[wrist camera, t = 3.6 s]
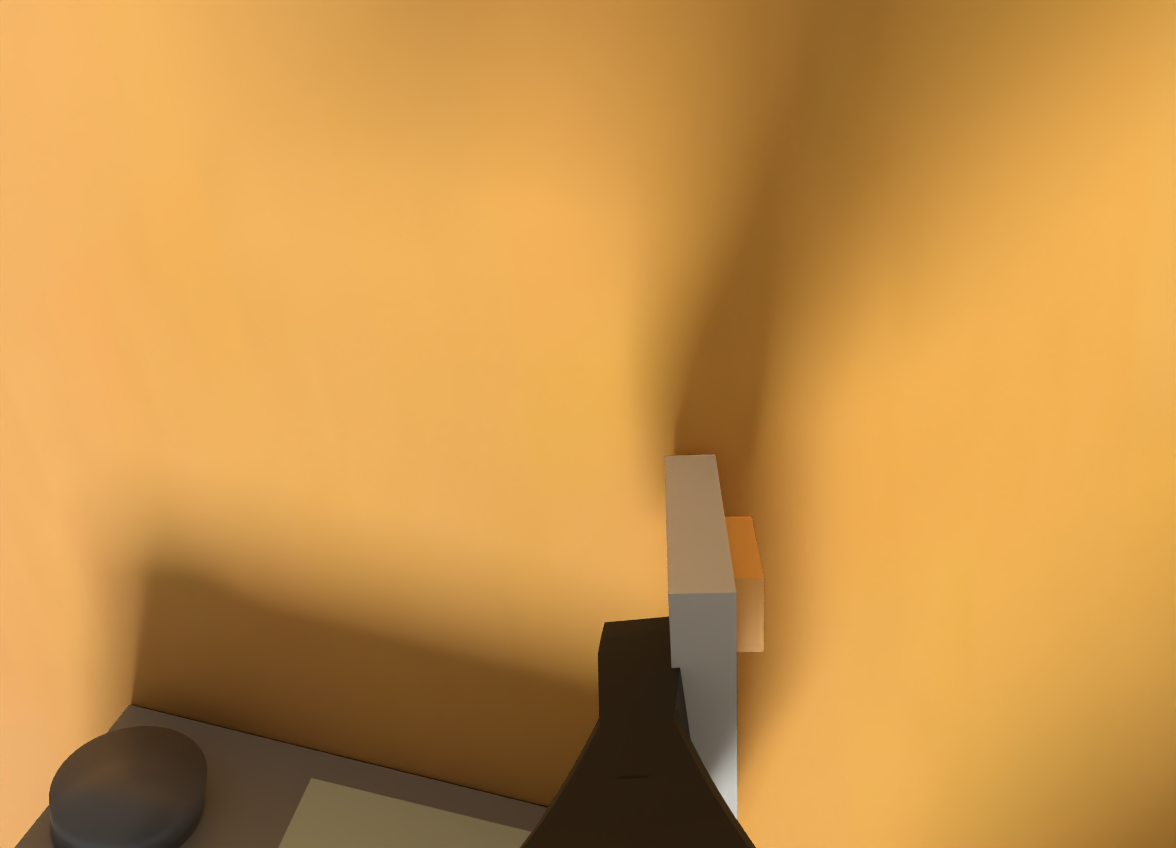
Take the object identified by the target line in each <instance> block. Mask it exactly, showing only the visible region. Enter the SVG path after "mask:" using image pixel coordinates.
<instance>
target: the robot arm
mask: <svg viewBox="0 0 1176 848" xmlns="http://www.w3.org/2000/svg"><path fill="white" fill-rule="evenodd" d="M598 675H599V720H598V722H597V724H596V726H595V728H594V730H593V732H592V733H591V735H590V737H589V739H588V741H587V743H586V745H585V746H584V748H583V750H582V752H581V754H580V756H579V757H578V759H577V761H576V763H575V765H574V767H573V768H572V770H571V772H570V774H569V775H568V777H567V779H566V780H565V782H564V784H563V785H562V787H561V789H560V790H559V792H558V793H557V795H556V796H555V798H554V800H553V801H552V803H551V804H550V806H549V807H548V809H547V810H546V812H545V813H544V815H543V816H542V818H541V819H540V821H539V822H538V824H537V825H536V826H535V828H534V829H533V831H532V832H531V833H530V835H529V836H528V837H527V839H526V840H525V841H524V843H523V844H522V845H521V847H520V848H756V847H755V846H754V844H753V843H752V841H751V840H750V838H749V837H748V835H747V834H746V832H745V831H744V830H743V828H742V827H741V825H740V824H739V822H738V821H737V819H736V818H735V816H734V814H733V813H732V811H731V810H730V808H729V806H728V805H727V803H726V802H725V800H724V798H723V797H722V795H721V794H720V792H719V790H718V789H717V787H716V785H715V783H714V782H713V780H712V778H711V776H710V775H709V773H708V771H707V769H706V768H705V766H704V764H703V762H702V760H701V758H700V756H699V754H698V752H697V751H696V749H695V747H694V745H693V743H692V741H691V738H690V731H689V724H688V717H687V711H686V704H685V697H684V690H683V683H682V676H681V670H680V667H679V668H672V667H671V644H670V622H669V617H660V618H649V619H638V620H627V621H616V622H605V624H604V628H603V632H602V636H601V641H600V646H599V652H598Z"/></svg>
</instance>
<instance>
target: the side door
mask: <svg viewBox="0 0 1176 848" xmlns="http://www.w3.org/2000/svg"><path fill="white" fill-rule="evenodd" d="M665 487H666V526H667V565H668V599H669V622H670V644H671V667H672V668H679V667H680V670H681V676H682V683H683V690H684V697H685V704H686V711H687V717H688V724H689V731H690V738H691V741H692V743H693V745H694V747H695V749H696V751H697V752H698V754H699V756H700V758H701V760H702V762H703V764H704V766H705V768H706V769H707V771H708V773H709V775H710V776H711V778H712V780H713V782H714V783H715V785H716V787H717V789H718V790H719V792H720V794H721V795H722V797H723V798H724V800H725V802H726V803H727V805H728V806H729V808H730V810H731V811H732V813H733V814H734V816H735V818H736V819H737V652H764V574H763V569H762V564H761V559H760V555H759V550H758V545H757V540H756V535H755V531H754V526H753V521H752V516H733V517H725V514H724V508H723V501H722V495H721V488H720V481H719V475H718V468H717V462H716V455H715V454H704V455H677V456H665Z"/></svg>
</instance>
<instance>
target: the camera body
mask: <svg viewBox="0 0 1176 848" xmlns="http://www.w3.org/2000/svg"><path fill="white" fill-rule="evenodd" d="M547 809H548V808H547V807H543V806H539V805H535V804H531V803H527V802H523V801H519V800H515V799H511V798H507V797H502V796H498V795H494V794H490V793H486V792H482V791H478V790H474V789H470V788H466V787H462V786H458V785H454V784H450V783H446V782H442V781H438V780H433V779H429V778H425V777H421V776H417V775H413V774H409V773H405V772H401V771H397V770H393V769H389V768H385V767H381V766H377V765H373V764H368V763H364V762H360V761H356V760H352V759H348V758H344V757H340V756H336V755H332V754H328V753H324V752H320V751H316V750H312V749H308V748H304V747H299V746H295V745H291V744H287V743H283V742H279V741H275V740H271V739H267V738H263V737H259V736H255V735H251V734H247V733H243V732H239V731H235V730H230V729H226V728H222V727H218V726H214V725H210V724H206V723H202V722H198V721H194V720H190V719H186V718H182V717H178V716H174V715H170V714H166V713H161V712H157V711H153V710H149V709H145V708H141V707H137V706H133V705H129V706H128V707H127V709H126V710H125V711H124V712H123V714H122V715H121V716H120V717H119V719H118V720H117V721H116V722H115V723H114V725H113V726H112V727H111V728H110V730H109V731H108V732H107V733H106V734H104V735H101V736H99V737H97V738H95V739H93V740H91V741H89V742H88V743H86V744H84V745H83V746H82V747H80V748H79V749H77V750H76V751H75V752H74V753H73V754H71V755H70V756H69V757H68V758H67V759H66V760H65V762H64V763H63V764H62V765H61V767H60V768H59V769H58V771H57V773H56V774H55V776H54V778H53V781H52V784H51V787H50V792H49V806H48V807H47V808H46V809H45V811H44V812H43V813H42V814H41V816H40V817H39V818H38V819H37V820H36V822H35V823H34V824H33V825H32V827H31V828H30V829H29V830H28V832H27V833H26V834H25V835H24V837H23V838H22V839H21V840H20V842H19V843H18V844H17V845H16V847H15V848H520V847H521V845H522V844H523V843H524V841H525V840H526V839H527V837H528V836H529V835H530V833H531V832H532V831H533V829H534V828H535V826H536V825H537V824H538V822H539V821H540V819H541V818H542V816H543V815H544V813H545V812H546V810H547Z"/></svg>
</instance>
